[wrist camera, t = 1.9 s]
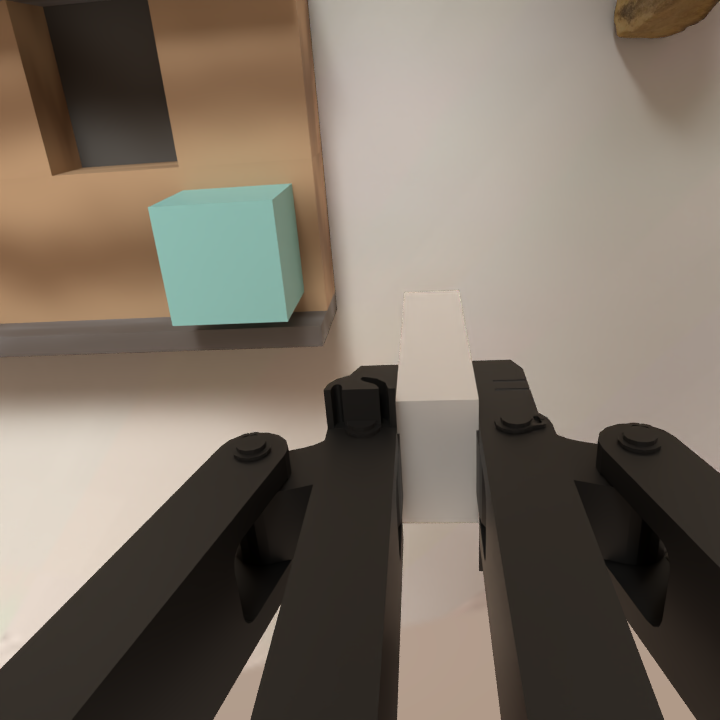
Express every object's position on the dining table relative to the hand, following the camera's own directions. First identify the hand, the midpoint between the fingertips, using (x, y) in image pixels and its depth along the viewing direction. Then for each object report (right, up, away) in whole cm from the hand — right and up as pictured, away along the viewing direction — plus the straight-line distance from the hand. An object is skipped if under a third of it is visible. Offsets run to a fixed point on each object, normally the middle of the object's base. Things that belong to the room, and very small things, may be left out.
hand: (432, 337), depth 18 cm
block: (-7, +5, +11) cm, 14 cm away
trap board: (-17, +9, +14) cm, 24 cm away
